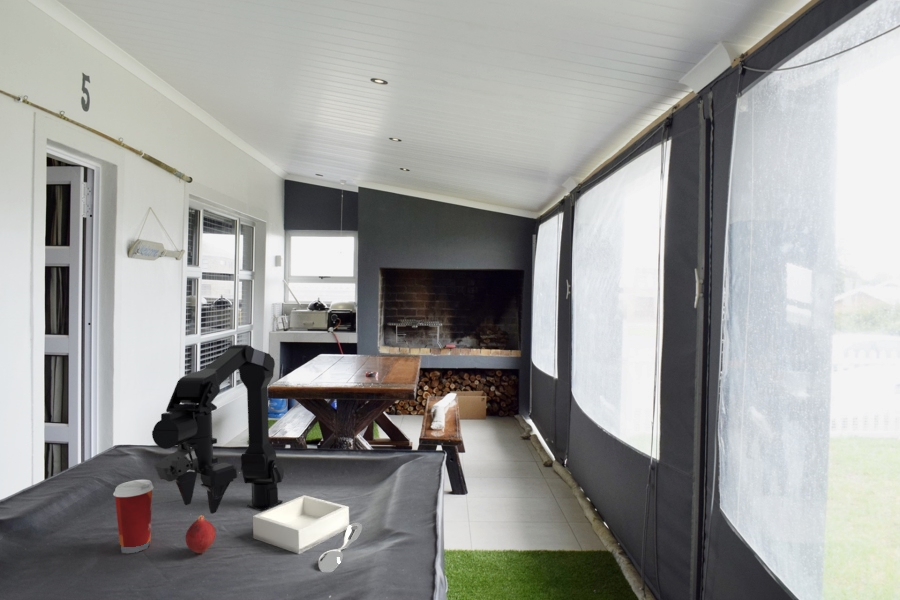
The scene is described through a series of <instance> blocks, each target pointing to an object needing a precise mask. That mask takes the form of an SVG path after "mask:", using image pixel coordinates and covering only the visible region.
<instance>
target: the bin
mask: <svg viewBox="0 0 900 600" xmlns="http://www.w3.org/2000/svg"><path fill="white" fill-rule="evenodd" d="M349 525H350V507H349V506H346V505H344V504H340V503H336V502H332V501H329V500H325V499H324V500H323V499H320V498H317V497H313V496H309V495H305V494H303V495H302V496H299V497H296V498H294V499H291V500H289V501H287V502H284V503H280V504H278V505H276V506H273V507H271V508H268V509H266V510H263V511H262V512H259V513H256V514H255V515H253V516H252V529H253V533H252V534H253V536H252V537H253V539H255V540H258V541H259V542H263V543H265V544H269V545H271V546H274V547H276V548H280V549H283V550H286V551H289V552H291V553H295V554H297V555H300V554H302V553H305V552H307V551H308V550H310V549H312V548H314V547H315V546H318V545H319V544H322V543H323V542H326V541H328V540H329V539H331V538H333V537H334V536H338V535H339V534H340V533H343V532H346V530H347V528H348V526H349Z"/></svg>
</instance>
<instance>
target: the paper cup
mask: <svg viewBox="0 0 900 600" xmlns="http://www.w3.org/2000/svg"><path fill="white" fill-rule="evenodd" d="M115 487H116V488H114V489H115V490H114V492H113V494H112V495H113V496H114V499H115V508H116V518H117V528H118V537H119V538H118V539H119V546H120V545H121V546H123V547H136V546H141V545H144V544H146V543H148V542H149V541H150V542H151V533H152V510H153V509H152V508H153V507H152V505H153V504H152V503H153V501H152V499H153V489H154V488H155V487H154V485H153V483H152V481H151V480H149V479H134V480H129V481H125V482H122V483H120V484H118V485H117V486H115Z"/></svg>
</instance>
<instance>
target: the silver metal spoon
mask: <svg viewBox="0 0 900 600" xmlns="http://www.w3.org/2000/svg"><path fill="white" fill-rule="evenodd" d="M353 527H357V528H356V529H355V530H354V532H353V529H352V528H353ZM362 530H363V525H362V524H361V523H360V522H353V523H351V524H349V526H348V528H347V530H345V534H344V538H343V544H342V545H341V547H339V548H337V549H336V548H335V549H334V548H333V549H330V550H328V551H324V552H323V553H322V554H321V555H320V557H319V558H318V564H317V565H318V568H319V571H320V572H321V573H322V572H323V573H333V572H334V571H335V570H336V569H337V567H338V566H339V565H340V564H341V562H342V560H343V558H344V555H343V554H344V553H343V552H342V550H344V549H347V548H348V547H350V544H352V543H353V542H355V541H356V540H357V539H358V538H359V536H360V534H361V532H362ZM352 532H353V534H352ZM351 534H352V536H351ZM350 536H351V538H350Z"/></svg>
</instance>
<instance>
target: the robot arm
mask: <svg viewBox="0 0 900 600" xmlns="http://www.w3.org/2000/svg"><path fill="white" fill-rule="evenodd" d="M275 365H276V362H275V359H274V357H273V356H272V355H271V354H270V353H267V352H265V351H262V350H260V349H259V350H258V349H255V348H254V347H253V346H252V345H248V344H231V345H230V346H228V347H227V350H226V351H224V353H222V354H221V355H220V356H218V357H217V358H215V360H213V361H212V362H211V363H209V364H208V365H207V366H206V367H205V368H203V369H201V370H197V371H194V372H190V373H188V374H186V375H184V376H182V377H180V378H179V379H178V380H177V382H176V385H175V387H174V390H173V392H172V395H171V396H170V399H169V402H168V404H167V406H166V409H165V412H163V413H160V414H161V415H160V418H161V419H160V420H159V421H158V422H156V423H155V425H154V427H153V430H152V431H151V436H152V439H153V442H154V444H155V445H156V446H158V448H161V449H164V450H167V449H171V448H174V447H177V450H175V451H174V452H172V453H170V454H169V455H166V456H165V457H164V458H162V459H161V460H159V461H158V462H156V463H155V464H154V468H155V471H156V473H157V476H158V477H159V479H160V480H164V481H167V482H173V481H174V483H176V486H177V488H178V490H179V493H180V496H181V498H182V501H183V504H184V505H185V506H188V505H191V503H192V499H193V495H194V490H195V485H196V481H197V476H198V474H200V480H201V482H202V483H201V484H200V486H201V487H202V488H203V489H205V490H206V494H207V502H208V508H209V513H210V514H215V513H216V512H217V511H218V509H219V506H220V505H221V501H222V499H223V497H224V495H225V493H226V491H227V489H228V487H229V485H230V484H231V482H234V480H235V479H237V478H238V467H237V466H236V465H235V464H231V463H227V462H221V463H218V461H219V460H218V459H219V458H218V457H216V456H214V446H213V445H215V444H217V443H218V438H216V437H213V417H212V416H213V411H216V410H217V409H218V407H217V405H215V404H214V403H213V401H214V400H215V399H216V397H217V396H218V395H219V394H220V392H221V385H222V384H223V382H225V381H226V380H227V379H228V378H229V377H230V376H232V375H233V374H234V373H235V372H236V371H237V370H238V371H239V372H238V374H239V379H240V382H242V384H243V385H244V386H245V388H246V391H247V392H246V394H247V395H246V396H247V399H246V400H247V425H248V426H247V427H248V431H247V432H248V446H247V448H246V450H244V453H242V454H241V456H240V461H241V465H240V466H241V467H240V471H241V474H242V478H243V481H244V482H243V483H244V484H251V501H250V502H249V503H247V504H246V506H247V507H248V506H249V507H248V508H251V507H252V509H255V510H258V511H262V512H264V511H267V510H269V509H272V508H274V507H277V506H279V505H281V504H283V500H282V499H279V497H278V496H279V489H278V483H282V482H283V479H284V476H285V470H284V469H283V467H282V466H281V465H280V463H279V462H278V460H277V451H276V450H275V449H274V447H273V446H272V444H271V443H270V437H269V436H270V433H269V430H270V429H269V428H270V427H269V404H268V403H269V401H268V400H269V399H268V397H269V396H268V386H269V385H270V383H271V381H272V379H273V378H274V371H275ZM216 463H218V464H216ZM214 464H215V465H214Z"/></svg>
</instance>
